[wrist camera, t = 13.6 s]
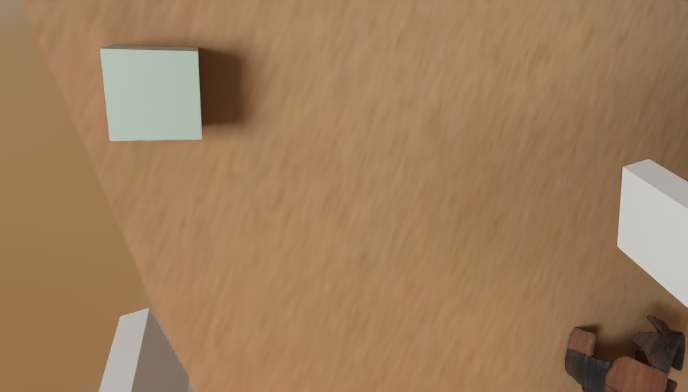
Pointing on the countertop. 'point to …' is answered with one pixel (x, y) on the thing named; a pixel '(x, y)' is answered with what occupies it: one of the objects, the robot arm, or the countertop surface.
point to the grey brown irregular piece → (627, 362)
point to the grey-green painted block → (152, 92)
